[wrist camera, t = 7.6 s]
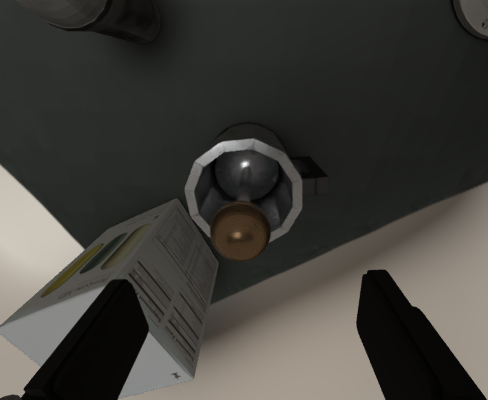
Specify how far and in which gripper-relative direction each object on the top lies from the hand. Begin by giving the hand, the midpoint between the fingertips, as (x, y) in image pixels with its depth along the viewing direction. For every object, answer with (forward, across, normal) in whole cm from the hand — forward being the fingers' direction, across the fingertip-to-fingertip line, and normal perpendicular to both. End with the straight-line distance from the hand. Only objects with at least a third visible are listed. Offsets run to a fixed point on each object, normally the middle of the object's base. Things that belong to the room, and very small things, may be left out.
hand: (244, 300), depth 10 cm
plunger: (+21, +1, +1) cm, 21 cm away
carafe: (+23, 0, +1) cm, 23 cm away
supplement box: (+23, +16, +13) cm, 31 cm away
